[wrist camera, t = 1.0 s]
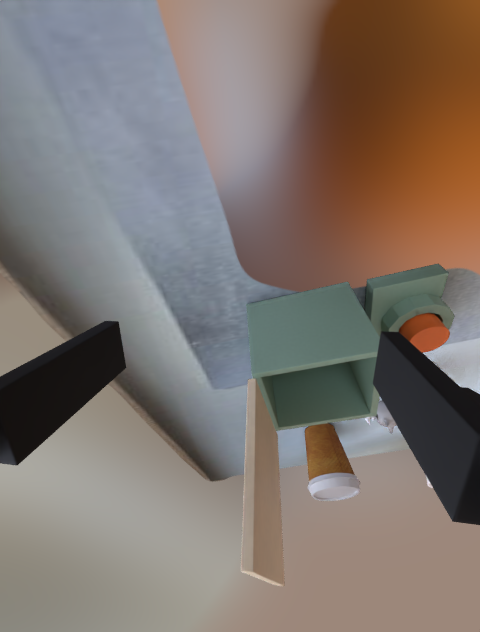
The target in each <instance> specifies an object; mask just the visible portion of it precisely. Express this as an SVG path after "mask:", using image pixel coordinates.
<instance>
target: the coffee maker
mask: <svg viewBox="0 0 480 632" xmlns="http://www.w3.org/2000/svg"><path fill="white" fill-rule="evenodd" d="M246 307H247V319H248V332H249V345H250V358H251V371H252V376H253V379H254V378H256V380H257V383H258V385H259V388H260V391H261V393H262V396H263V398H264V401H265V404H266V406H267V409H268V412H269V414H270V417H271V419H272V422H273V425H274V427H275V430H276V431H279V430H285V429H292V428H299V427H305V426H312V425H319V424H325V423H332V422H339V421H345V420H352V419H359V418H366V417H372V416H377V410H378V403H379V397H380V395H379V393H378V392H377V390H376V388H375V386H374V385H373V378H374V372H375V366H376V359H377V353H378V347H379V340H380V337H379V335H378V333H377V332H376V330H375V328H374V326H373V325H372V323H371V321H370V320H369V318H368V316H367V314H366V313H365V311H364V309H363V307H362V306H361V304H360V302H359V301H358V299H357V297H356V295H355V294H354V292H353V290H352V288H351V287H350V285H349V283H348V282H344V283H340V284H335V285H331V286H327V287H322V288H318V289H313V290H309V291H304V292H300V293H295V294H291V295H286V296H282V297H277V298H273V299H268V300H264V301H259V302H255V303H250V304H246Z"/></svg>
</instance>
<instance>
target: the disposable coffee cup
mask: <svg viewBox="0 0 480 632" xmlns="http://www.w3.org/2000/svg"><path fill="white" fill-rule="evenodd" d="M305 440H306V451H307V462H308V474H309V486H308V490H309V491H310V492H311V495H312V497H313V498H314V499H316V500H321V501H336V500H343V499H347V498H350V497H353V496H356V495H357V494H358V493H359V492H360V488H359V485H360V481H359V480H358V479H357V477H356V476H355V474H354V472H353V470H352V468H351V465H350V463H349V460H348V458H347V456H346V454H345V451H344V449H343V447H342V444H341V442H340V440H339V438H338V435H337V433H336V431H335V428H334V426H333V425H331V424H328V423H325V424H319V425H312V426H309V427H307V428H306V429H305Z"/></svg>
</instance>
